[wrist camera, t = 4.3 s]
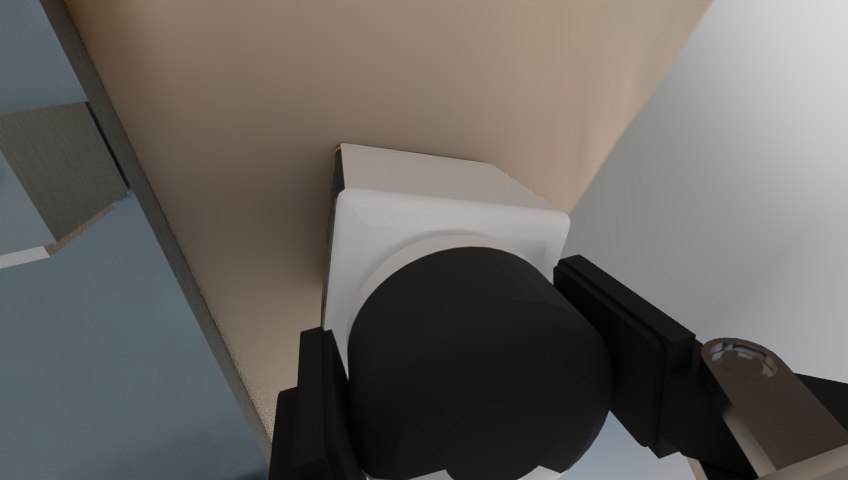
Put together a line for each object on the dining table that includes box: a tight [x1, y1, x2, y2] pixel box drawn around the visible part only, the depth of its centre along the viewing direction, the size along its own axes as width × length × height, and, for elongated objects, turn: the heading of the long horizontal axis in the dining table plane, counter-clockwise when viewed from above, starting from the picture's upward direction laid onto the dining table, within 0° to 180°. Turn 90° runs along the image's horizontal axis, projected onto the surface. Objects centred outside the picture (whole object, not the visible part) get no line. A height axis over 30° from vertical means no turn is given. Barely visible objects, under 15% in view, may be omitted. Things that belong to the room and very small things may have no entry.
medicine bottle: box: [321, 143, 613, 480], centre depth 14 cm, size 7×7×12 cm
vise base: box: [0, 0, 272, 480], centre depth 14 cm, size 25×12×6 cm, turn 9°
